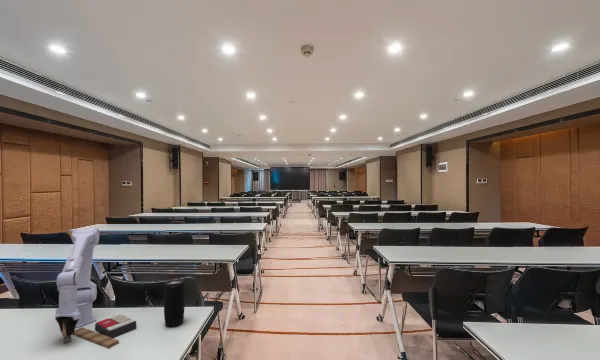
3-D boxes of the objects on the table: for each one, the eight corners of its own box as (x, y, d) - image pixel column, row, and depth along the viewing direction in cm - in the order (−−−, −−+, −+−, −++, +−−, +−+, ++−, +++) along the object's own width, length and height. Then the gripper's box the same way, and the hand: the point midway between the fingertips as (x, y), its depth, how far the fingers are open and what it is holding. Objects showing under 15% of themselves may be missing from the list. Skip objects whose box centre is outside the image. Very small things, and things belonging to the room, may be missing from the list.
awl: (60, 342, 113) (60, 322, 113) (69, 338, 115) (70, 319, 116) (64, 344, 111) (65, 324, 111) (74, 340, 114) (74, 321, 114)
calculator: (121, 312, 132) (136, 319, 124) (121, 322, 132) (136, 329, 123) (94, 322, 123) (108, 329, 115) (94, 331, 123) (108, 340, 114)
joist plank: (72, 334, 119) (72, 331, 119) (82, 329, 123) (82, 327, 123) (108, 348, 108) (108, 345, 108) (118, 343, 112) (118, 340, 112)
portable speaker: (185, 317, 134) (185, 277, 134) (183, 327, 125) (183, 283, 125) (165, 320, 131) (166, 279, 132) (162, 330, 122) (162, 285, 123)
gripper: (47, 301, 113) (46, 334, 113) (66, 307, 107) (65, 342, 107) (67, 295, 120) (66, 326, 119) (86, 300, 114) (85, 333, 113)
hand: (67, 333), depth 113 cm, fingers closed on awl, 3 cm apart
